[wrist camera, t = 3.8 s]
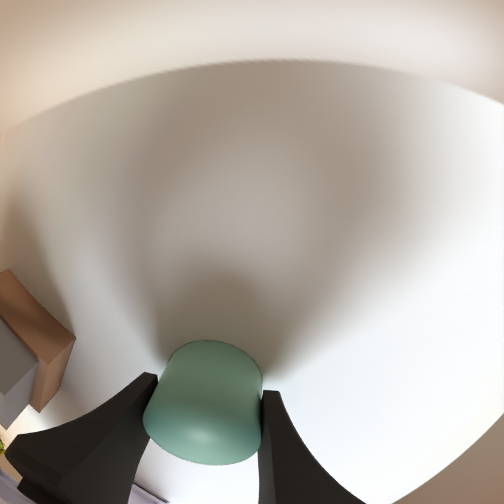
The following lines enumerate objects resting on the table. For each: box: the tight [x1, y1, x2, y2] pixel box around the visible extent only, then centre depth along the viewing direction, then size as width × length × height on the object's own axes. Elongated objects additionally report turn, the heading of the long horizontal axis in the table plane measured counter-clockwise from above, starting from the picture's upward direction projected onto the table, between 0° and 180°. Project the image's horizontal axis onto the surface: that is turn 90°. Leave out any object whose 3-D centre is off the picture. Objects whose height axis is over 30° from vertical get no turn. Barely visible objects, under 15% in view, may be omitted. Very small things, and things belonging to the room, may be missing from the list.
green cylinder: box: [143, 340, 262, 465], centre depth 10 cm, size 4×4×4 cm
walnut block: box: [0, 269, 76, 413], centre depth 11 cm, size 6×6×3 cm
